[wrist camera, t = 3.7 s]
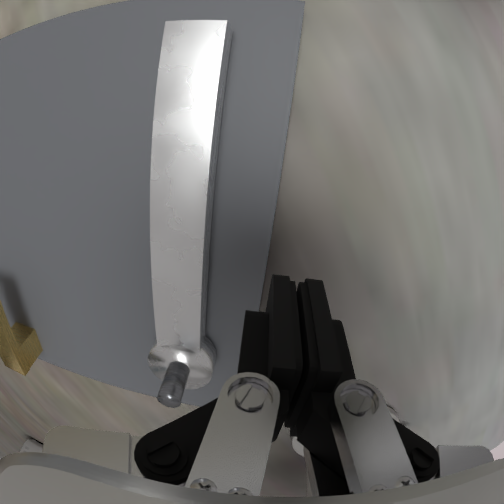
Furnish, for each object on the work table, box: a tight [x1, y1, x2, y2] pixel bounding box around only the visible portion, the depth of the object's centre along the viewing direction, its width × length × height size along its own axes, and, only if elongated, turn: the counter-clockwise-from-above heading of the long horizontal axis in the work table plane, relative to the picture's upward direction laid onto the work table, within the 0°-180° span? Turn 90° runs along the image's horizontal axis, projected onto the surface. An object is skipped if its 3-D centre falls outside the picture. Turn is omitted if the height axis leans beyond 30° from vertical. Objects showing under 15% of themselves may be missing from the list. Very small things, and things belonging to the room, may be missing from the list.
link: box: [148, 20, 233, 408], centre depth 16 cm, size 24×5×5 cm, turn 173°
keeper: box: [0, 300, 43, 376], centre depth 21 cm, size 3×10×4 cm, turn 173°
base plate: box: [0, 0, 305, 407], centre depth 20 cm, size 29×32×2 cm
